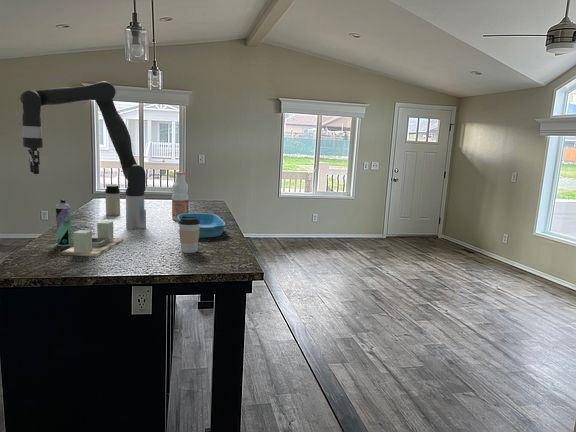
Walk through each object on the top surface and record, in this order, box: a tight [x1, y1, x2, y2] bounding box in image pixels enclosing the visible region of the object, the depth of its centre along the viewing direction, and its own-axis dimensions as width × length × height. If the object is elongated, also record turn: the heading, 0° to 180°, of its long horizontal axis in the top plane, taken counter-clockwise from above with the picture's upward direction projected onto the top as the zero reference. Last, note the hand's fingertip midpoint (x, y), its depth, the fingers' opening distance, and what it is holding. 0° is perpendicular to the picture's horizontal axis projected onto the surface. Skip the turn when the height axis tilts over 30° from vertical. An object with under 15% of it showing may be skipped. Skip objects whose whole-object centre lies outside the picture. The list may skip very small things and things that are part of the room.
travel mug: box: [105, 183, 121, 217], centre depth 255 cm, size 8×8×18 cm
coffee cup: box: [178, 216, 200, 254], centre depth 185 cm, size 9×9×15 cm
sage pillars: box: [72, 220, 114, 253], centre depth 183 cm, size 25×5×8 cm, turn 178°
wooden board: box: [62, 236, 125, 258], centre depth 184 cm, size 26×14×1 cm, turn 178°
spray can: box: [55, 198, 73, 247], centre depth 184 cm, size 6×6×20 cm
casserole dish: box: [177, 212, 226, 239], centre depth 224 cm, size 37×22×7 cm, turn 21°
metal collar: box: [92, 237, 109, 248], centre depth 184 cm, size 9×9×2 cm
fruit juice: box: [171, 171, 189, 222], centre depth 250 cm, size 9×9×28 cm
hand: (34, 173), depth 193 cm, fingers open, 8 cm apart
